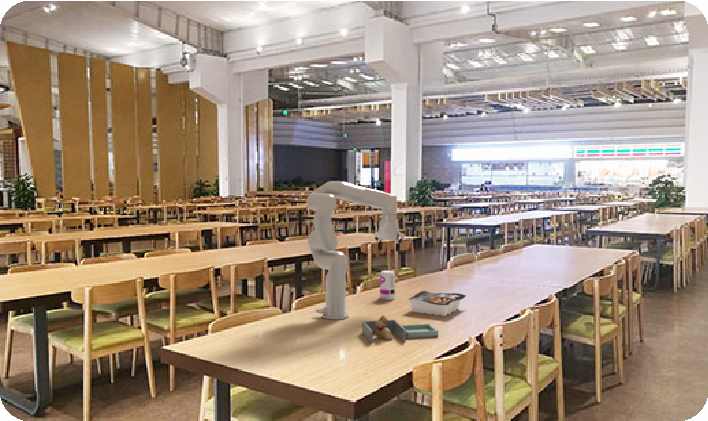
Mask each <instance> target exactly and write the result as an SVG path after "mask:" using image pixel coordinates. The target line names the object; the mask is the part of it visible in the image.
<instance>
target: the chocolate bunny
mask: <svg viewBox="0 0 708 421" xmlns="http://www.w3.org/2000/svg"><path fill="white" fill-rule="evenodd" d="M387 320H388V317H386V316H385V314H383V315H381V316H380V317H379V318H378V319H377V320H375V321H376V323H375V327H376V328H377V330H376V338H377V339H379V340H384V341H392V340H393V334H392V332H391V331H390V330H389V329H388V328H386V322H387Z"/></svg>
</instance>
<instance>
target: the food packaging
mask: <svg viewBox="0 0 708 421" xmlns="http://www.w3.org/2000/svg"><path fill="white" fill-rule="evenodd" d="M466 297H467V295H465V294H463V293H455V292H453V293H449V292H447V293H445V292H443V293H441V292H430V291H427V290H422V291H419V292H417V293H416V294H415V295H413V296H412V297H410V298H407V299H406V300H407V301H409V304H410V307H411V308H410V309H411V311H412V313H417V314H424V313H426V314H427V315H432V314H434V315H433V316H439V315H441V317H446V316H448V315H447V314H449V315H450V314H451V312H452V313H453V312H456V311H457V310H459V306H460V301H461V300H463V299H465V298H466ZM456 309H457V310H456ZM455 310H456V311H455Z"/></svg>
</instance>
